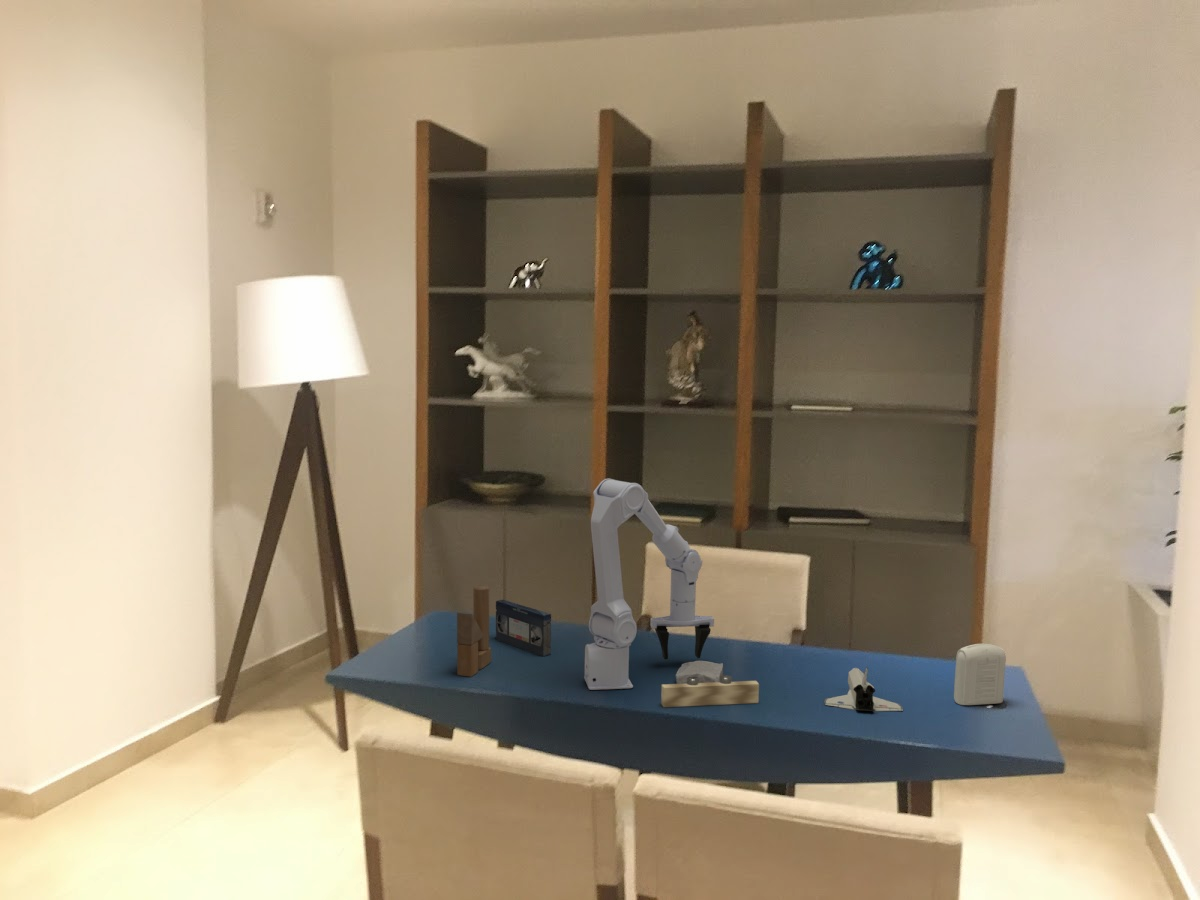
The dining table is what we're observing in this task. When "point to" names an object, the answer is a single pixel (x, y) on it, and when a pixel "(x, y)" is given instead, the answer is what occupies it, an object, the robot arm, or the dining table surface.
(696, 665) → the stone block
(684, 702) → the bench stop
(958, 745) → the dining table surface
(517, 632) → the vhs cassette tape
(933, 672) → the dining table surface
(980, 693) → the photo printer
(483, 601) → the stacked wooden blocks
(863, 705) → the space shuttle model
